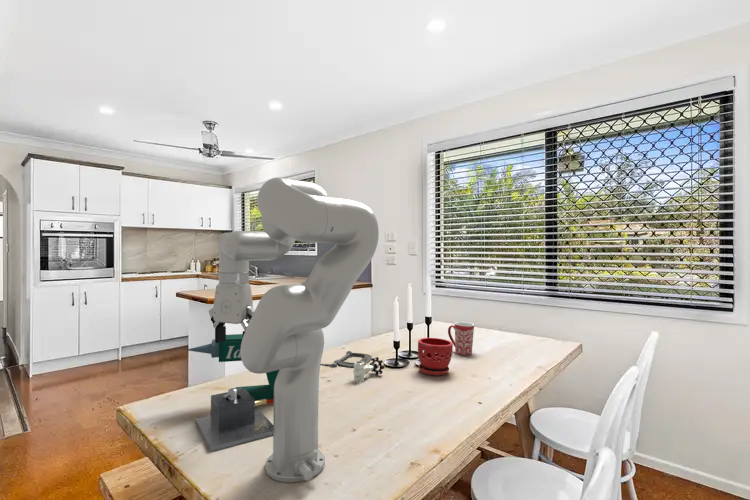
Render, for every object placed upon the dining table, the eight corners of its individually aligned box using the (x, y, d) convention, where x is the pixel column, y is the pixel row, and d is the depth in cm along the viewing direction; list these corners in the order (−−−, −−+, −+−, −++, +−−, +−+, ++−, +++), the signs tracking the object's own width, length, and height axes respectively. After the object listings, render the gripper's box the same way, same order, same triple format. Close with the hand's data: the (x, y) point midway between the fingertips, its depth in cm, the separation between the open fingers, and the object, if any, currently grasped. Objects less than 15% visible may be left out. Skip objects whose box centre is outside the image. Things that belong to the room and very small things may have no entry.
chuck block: (281, 432, 99) (281, 405, 99) (210, 451, 90) (210, 421, 90) (258, 408, 114) (258, 384, 114) (195, 422, 105) (195, 396, 105)
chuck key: (226, 424, 101) (227, 394, 101) (220, 423, 102) (220, 392, 102) (243, 415, 107) (244, 386, 107) (237, 414, 108) (238, 385, 108)
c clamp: (355, 372, 150) (355, 365, 150) (317, 366, 157) (317, 359, 157) (377, 359, 168) (377, 352, 168) (342, 353, 175) (342, 347, 175)
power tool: (181, 412, 111) (181, 342, 111) (186, 402, 118) (186, 336, 117) (295, 402, 119) (296, 336, 119) (294, 393, 126) (295, 331, 126)
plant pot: (437, 380, 141) (437, 347, 140) (410, 371, 150) (410, 340, 150) (459, 372, 149) (459, 341, 149) (432, 364, 159) (433, 335, 159)
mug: (478, 353, 177) (478, 323, 176) (467, 357, 170) (467, 326, 170) (454, 348, 185) (454, 319, 185) (443, 351, 179) (443, 322, 179)
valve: (361, 384, 135) (384, 376, 144) (361, 365, 135) (384, 358, 144) (348, 380, 140) (371, 372, 149) (348, 361, 140) (371, 355, 149)
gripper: (199, 279, 104) (198, 343, 104) (248, 281, 97) (248, 350, 97) (221, 277, 111) (221, 337, 111) (269, 279, 104) (269, 344, 104)
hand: (233, 343), depth 104 cm, fingers open, 9 cm apart
